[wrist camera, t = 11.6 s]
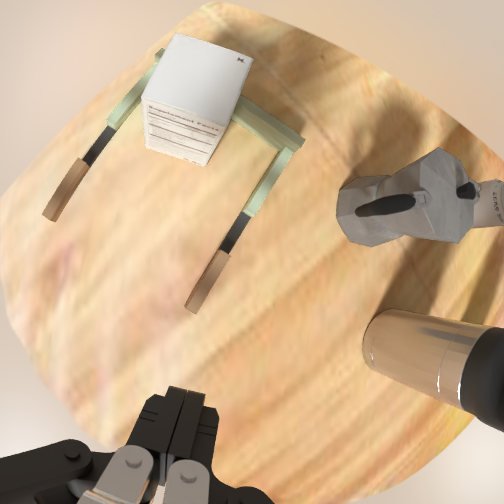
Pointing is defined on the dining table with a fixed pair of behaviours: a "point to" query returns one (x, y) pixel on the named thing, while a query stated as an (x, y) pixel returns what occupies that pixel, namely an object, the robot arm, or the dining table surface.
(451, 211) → the coffeepot
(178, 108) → the supplement box
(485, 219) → the energy drink can
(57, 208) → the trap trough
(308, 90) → the dining table surface
